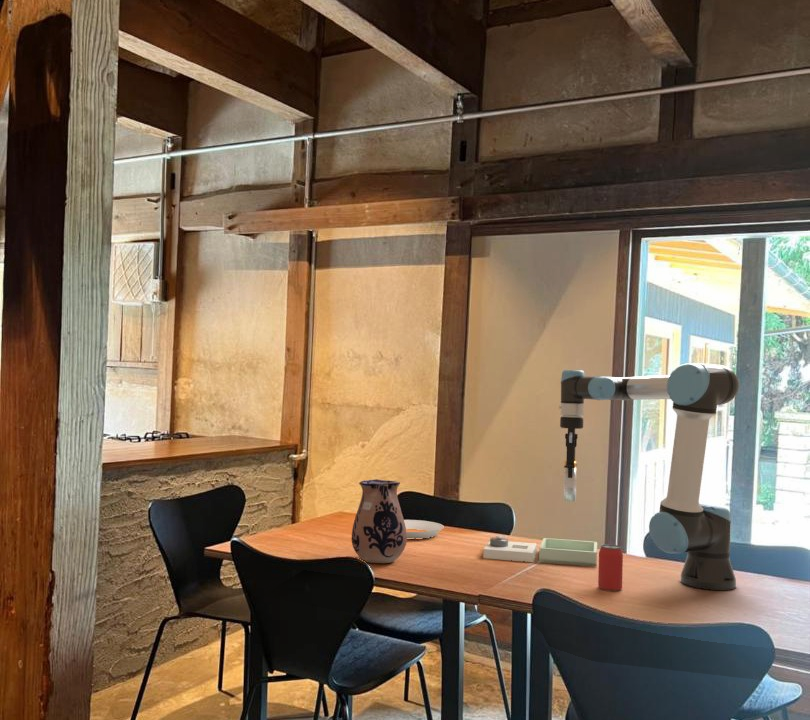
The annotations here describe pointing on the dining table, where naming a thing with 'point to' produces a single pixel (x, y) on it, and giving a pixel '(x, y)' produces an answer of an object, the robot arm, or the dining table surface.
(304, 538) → the dining table surface
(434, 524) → the bowl
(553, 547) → the tray
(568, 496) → the capped clear tube
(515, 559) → the block
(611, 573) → the beer can
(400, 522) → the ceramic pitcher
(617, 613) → the dining table surface
